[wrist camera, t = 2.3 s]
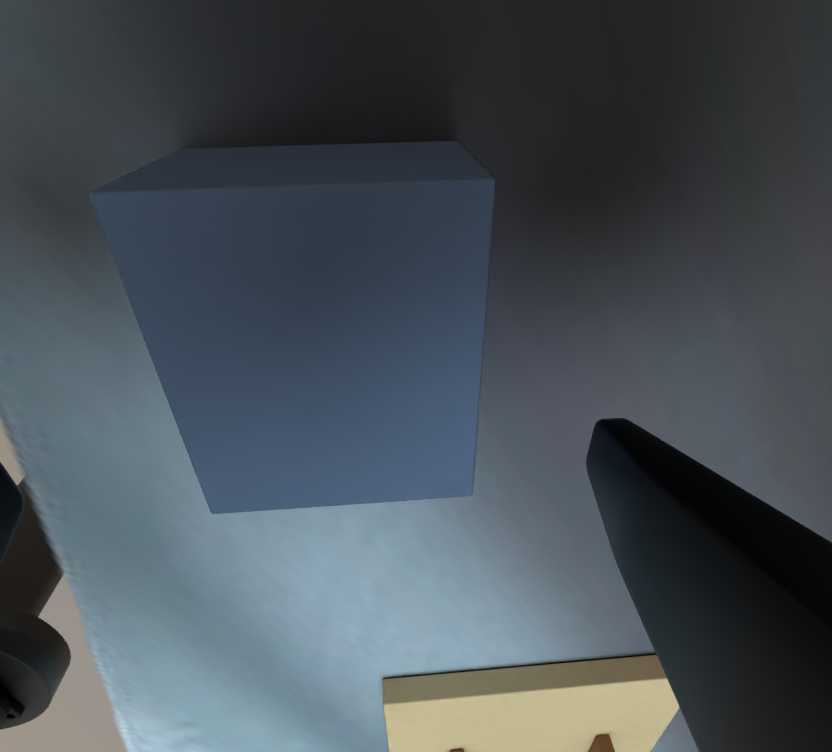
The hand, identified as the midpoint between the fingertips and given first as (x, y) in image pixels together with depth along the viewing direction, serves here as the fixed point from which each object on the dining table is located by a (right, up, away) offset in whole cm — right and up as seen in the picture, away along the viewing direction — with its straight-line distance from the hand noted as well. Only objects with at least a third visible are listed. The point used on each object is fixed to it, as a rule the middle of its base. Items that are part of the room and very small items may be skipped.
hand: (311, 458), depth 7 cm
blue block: (0, +3, +5) cm, 6 cm away
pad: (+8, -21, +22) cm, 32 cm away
